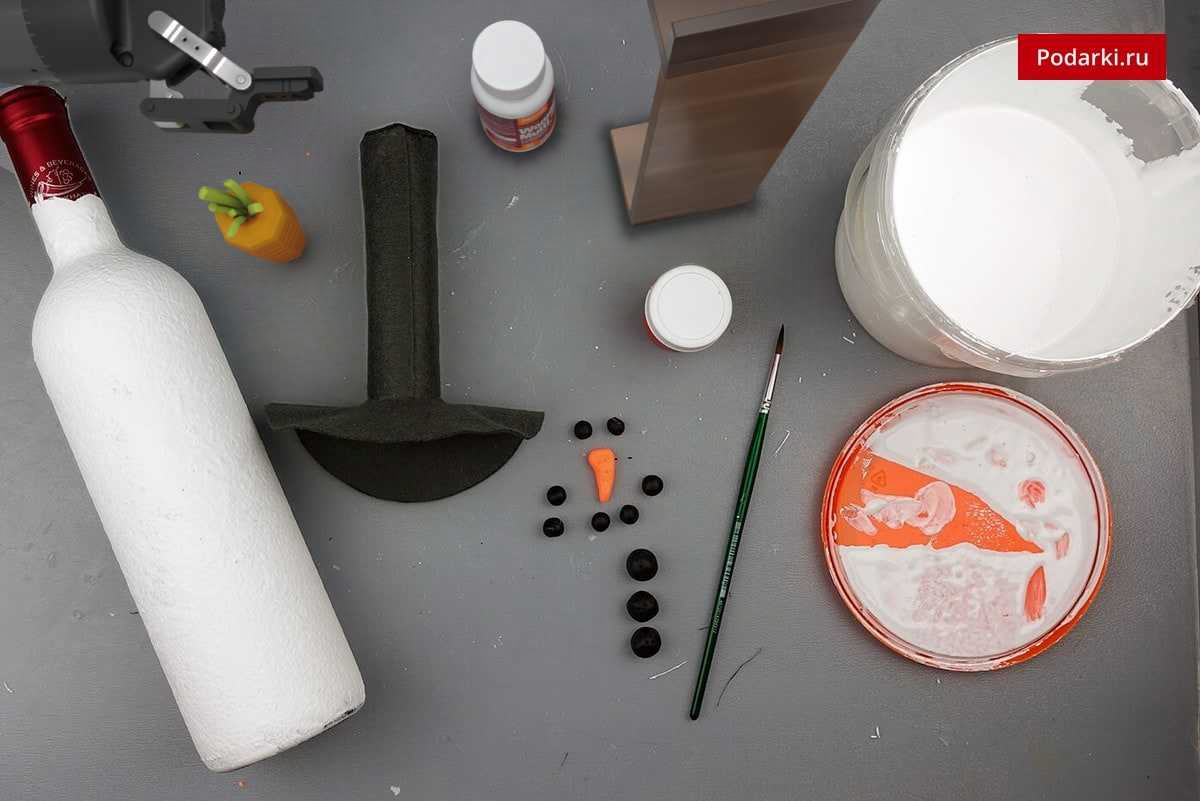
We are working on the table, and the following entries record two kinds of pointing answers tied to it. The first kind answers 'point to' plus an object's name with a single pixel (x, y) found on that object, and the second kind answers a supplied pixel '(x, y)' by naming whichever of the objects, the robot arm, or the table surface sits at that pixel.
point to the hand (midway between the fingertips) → (319, 12)
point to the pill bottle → (513, 86)
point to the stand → (717, 133)
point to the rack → (749, 30)
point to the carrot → (256, 220)
